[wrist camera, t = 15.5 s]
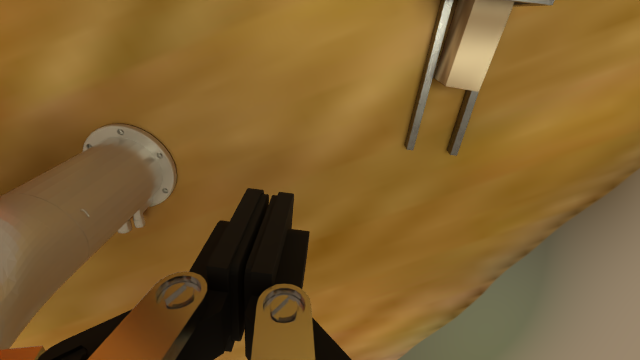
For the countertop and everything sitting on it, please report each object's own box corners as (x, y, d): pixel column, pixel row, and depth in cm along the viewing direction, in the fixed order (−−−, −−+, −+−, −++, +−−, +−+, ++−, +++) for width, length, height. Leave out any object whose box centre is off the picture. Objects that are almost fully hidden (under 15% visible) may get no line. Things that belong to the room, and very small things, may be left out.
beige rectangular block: (462, 82, 37) (478, 91, 32) (432, 77, 37) (445, 85, 32) (507, -41, 31) (535, -50, 27) (472, -48, 31) (494, -57, 26)
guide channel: (453, 150, 40) (456, 155, 39) (404, 144, 40) (406, 149, 39) (501, 5, 33) (508, 5, 31) (441, -2, 33) (445, -3, 31)
